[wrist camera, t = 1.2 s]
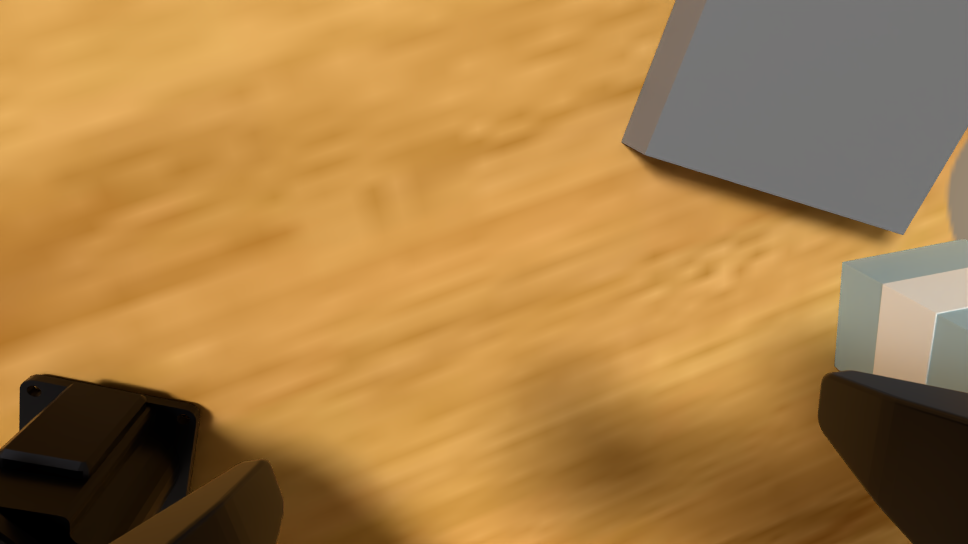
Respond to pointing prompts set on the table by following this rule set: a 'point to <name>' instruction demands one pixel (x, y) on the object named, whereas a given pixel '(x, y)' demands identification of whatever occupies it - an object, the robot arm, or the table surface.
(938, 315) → the carton
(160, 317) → the table surface
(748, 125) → the podium
